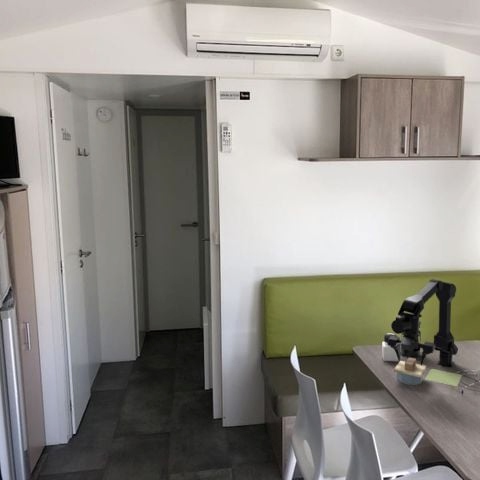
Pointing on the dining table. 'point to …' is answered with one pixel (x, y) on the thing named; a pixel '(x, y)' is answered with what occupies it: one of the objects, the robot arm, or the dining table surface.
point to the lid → (410, 368)
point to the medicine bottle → (388, 350)
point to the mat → (443, 377)
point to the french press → (415, 352)
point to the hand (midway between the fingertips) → (410, 363)
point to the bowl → (409, 379)
